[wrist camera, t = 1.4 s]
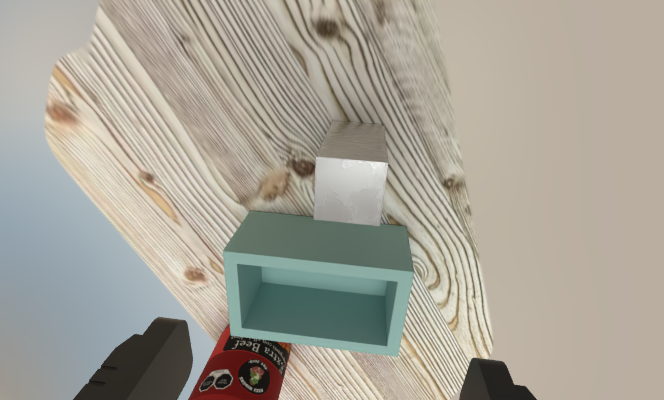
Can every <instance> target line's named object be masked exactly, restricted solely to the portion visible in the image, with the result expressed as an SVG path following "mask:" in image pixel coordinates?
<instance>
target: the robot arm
mask: <svg viewBox="0 0 664 400" xmlns="http://www.w3.org/2000/svg"><path fill="white" fill-rule="evenodd" d="M192 363H193V356H192V349H191V343H190V336H189V330H188V325H187V322H186V321H185V320H178V319H171V318H163V317H158V318H156V319H155V320H154V321H153V322H152V323H151V325H150V326H149V327H148V329H147V330H146V331H145V332H144V334H143V335H138V334H134V335H133V336H131V337H130V338H129V339H127V340H126V341H125V342H123V343H122V344H120V345H119V346H118V347H116V348H115V349H114V351H113V352H112V353H111V354H110V355H109V357H108V358H107V359H106V360H105V361H104V363H103V364H102V365H101V368H100V369H98V370H97V371H96V372H95V374H94V375H93V376H92V377H91V379H90V380H89V383H88V384H86V385H85V386H84V387H83V388H82V389H81V391H80V392H79V393H78V394H77V395H76V397H75V398H74V399H73V400H177V399H178V397H179V395H180V393H181V392H182V390H183V388H184V386H185V384H186V382H187V380H188V378H189V375H190V372H191V368H192ZM459 400H537V399H536V398H535V397H534V396H533V395H532V393H531V392H530V391H529V390H528V389H527V387H525V386H520V385H514V383H513V381H512V378H511V376H510V374H509V371H508V368H507V366H506V365H505V363H504V362H502V361H496V360H488V359H480V358H472V360H471V362H470V365H469V368H468V371H467V374H466V377H465V380H464V383H463V387H462V390H461V393H460V399H459Z"/></svg>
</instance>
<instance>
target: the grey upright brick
mask: <svg viewBox="0 0 664 400" xmlns="http://www.w3.org/2000/svg"><path fill="white" fill-rule="evenodd" d="M387 168H388V157H387V148H386V138H385V129H384V125H383V124H371V123H358V122H346V121H332V124H331V126H330V128H329V130H328V132H327V134H326V136H325V139H324V141H323V143H322V145H321V147H320V149H319V151H318V154H317V156H316V172H315V198H314V220H324V221H334V222H344V223H354V224H364V225H373V226H380V221H381V213H382V206H383V198H384V191H385V183H386V175H387Z"/></svg>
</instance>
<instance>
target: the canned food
mask: <svg viewBox="0 0 664 400" xmlns="http://www.w3.org/2000/svg"><path fill="white" fill-rule="evenodd" d="M289 355H290V343H286V342H278V341H270V340H262V339H254V338H246V337H238V336H231V333H230V325H229V326H228V327H227V328H226V329H225V330H224V331H223V333H222V335H221V337H220V339H219V340H218V342H217V344H216V347H215V348H214V350H213V352H212V355H211V356H210V358H209V360H208V362H207V364H206V366H205V368H204V370H203V372H202V374H201V376H200V378H199V380H198V382H197V384H196V385H195V387H194V389H193V391H192V393H191V395H190V397H189V399H188V400H278V398H279V394H280V390H281V387H282V383H283V379H284V375H285V371H286V367H287V363H288V359H289Z"/></svg>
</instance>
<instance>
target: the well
mask: <svg viewBox="0 0 664 400" xmlns="http://www.w3.org/2000/svg"><path fill="white" fill-rule="evenodd" d="M223 258H224V269H225V280H226V290H227V301H228V312H229V323H230V333H231V336H238V337H246V338H254V339H262V340H270V341H278V342H286V343H293V344H301V345H309V346H317V347H325V348H333V349H341V350H348V351H356V352H364V353H372V354H380V355H388V356H396V357H398V353H399V348H400V343H401V338H402V332H403V327H404V322H405V317H406V312H407V306H408V301H409V296H410V291H411V286H412V280H413V275H414V269H413V263H412V257H411V251H410V245H409V239H408V233H407V227H406V226H398V225H389V224H380V226H373V225H364V224H354V223H344V222H334V221H324V220H314V217H309V216H299V215H289V214H279V213H269V212H259V211H250V212H249V214H248V215H247V217H246V218H245V220H244V221H243V223H242V224H241V226H240V227H239V228H238V230H237V231H236V233H235V234H234V236H233V237H232V239H231V240H230V241H229V243H228V244H227V246H226V247H225V249H224V250H223Z"/></svg>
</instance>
